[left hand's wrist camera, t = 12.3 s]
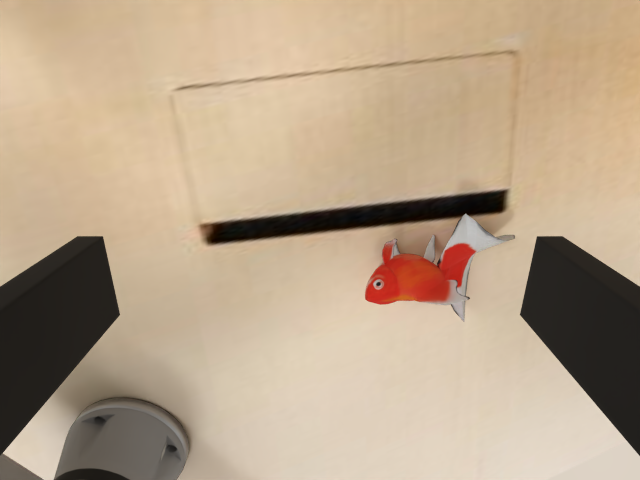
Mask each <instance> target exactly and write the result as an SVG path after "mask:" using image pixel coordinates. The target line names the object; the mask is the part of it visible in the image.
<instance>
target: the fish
mask: <svg viewBox="0 0 640 480" xmlns="http://www.w3.org/2000/svg"><path fill="white" fill-rule="evenodd" d="M512 239H515V236H514V235H503V236H499V237H495V236H493V235H492V234H490V233H489V232H487V231H486V230H484V229H483V228H482V227H481V226H480V225H479V224H478V223H477V222H476V221H475V220H474V219H472V218H471V217H469V216H468V215H467V214H465V215H464V216H463V217H462V218H461V219H460V220H459V221H458V224H457V226H456V228H455V230H454V232H453V234H452V236H451V238H450V240H449V241H448V243H447V245H446V247H445V249H444V251H443V253H442V255H441V257H440V259H439V261H438V263H437V266H436V265H435V264H433V262H434V260H435V236H434V235H433V236H432V238H431V240H430V242H429V244H428V246H427V248H426V251H425V254H424V257H421V256H418V255H414V254H400V252H399V250H398V248H397V245H396V242H397V239H393V240H392V241H390V242H386V244H385V245H384V248H383V250H382V258H383V263H382V264H381V265H380V266H379V267H378V268H377V269H376V270H375V272H374V273H373V275H372V276H371V278H370V279H369V281H368V283H367V286H366V291H365V299H366V300H367V301H369V302H373V303H377V304H389V303H393V302H395V301H413V300H415V301H418V302H424V303H432V304H440V305H449V304H451V306H452V307H453V309H454V311H455V312H456V313H457V315H458V316H459V317H460V318H461V319H462V320H463V321H464V316H465V300H468V299H470V298H469V297H466V288H467V279H468V274H469V269H470V264H471V261H472V259H473V256H474V255H475V254H476V253H477V252H480V251H482V250H484V249H487V248H489V247H492V246H495V245H498V244H500V243H503V242H506V241H508V240H512Z"/></svg>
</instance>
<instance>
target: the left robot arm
mask: <svg viewBox="0 0 640 480" xmlns="http://www.w3.org/2000/svg"><path fill="white" fill-rule="evenodd" d="M119 315H120V313H119V308H118V304H117V299H116V294H115V290H114V285H113V281H112V276H111V271H110V267H109V262H108V258H107V253H106V249H105V244H104V239H103V236H77V237H76V238H74V239H73V240H71V241H70V242H68V243H67V244H65V245H64V246H62V247H61V248H59V249H58V250H56V251H54V252H53V253H51V254H50V255H48V256H47V257H45V258H44V259H42V260H41V261H39V262H38V263H36V264H34V265H33V266H31V267H30V268H28V269H27V270H25V271H24V272H22V273H21V274H19V275H18V276H16V277H14V278H13V279H11V280H10V281H8V282H7V283H5V284H4V285H2V286H1V287H0V480H43V479H42V478H40V477H39V476H37V475H35V474H34V473H32V472H31V471H29V470H28V469H26V468H25V467H23V466H21V465H20V464H18V463H17V462H15V461H14V460H12V459H10V458H9V457H7V456H6V455H4V454H3V452H4V451H5V450H6V448H7V447H8V446H9V445H10V444H11V443H12V441H13V440H14V439H15V438H16V437H17V435H18V434H19V433H20V432H21V431H22V430H23V428H24V427H25V426H26V425H27V424H28V423H29V421H30V420H31V419H32V418H33V417H34V415H35V414H36V413H37V412H38V411H39V410H40V408H41V407H42V406H43V405H44V404H45V402H46V401H47V400H48V399H49V398H50V397H51V395H52V394H53V393H54V392H55V391H56V389H57V388H58V387H59V386H60V385H61V384H62V382H63V381H64V380H65V379H66V378H67V377H68V375H69V374H70V373H71V372H72V371H73V369H74V368H75V367H76V366H77V365H78V364H79V362H80V361H81V360H82V359H83V358H84V356H85V355H86V354H87V353H88V352H89V351H90V349H91V348H92V347H93V346H94V345H95V344H96V342H97V341H98V340H99V339H100V338H101V336H102V335H103V334H104V333H105V332H106V331H107V329H108V328H109V327H110V326H111V325H112V323H113V322H114V321H115V320H116V319H117V318H118V316H119ZM520 315H521V316H522V318H523V319H524V320H525V321H526V322H527V323H528V325H529V326H530V327H531V328H532V329H533V331H534V332H535V333H536V334H537V335H538V336H539V338H540V339H541V340H542V341H543V342H544V344H545V345H546V346H547V347H548V348H549V349H550V351H551V352H552V353H553V354H554V355H555V356H556V358H557V359H558V360H559V361H560V362H561V364H562V365H563V366H564V367H565V368H566V369H567V371H568V372H569V373H570V374H571V375H572V377H573V378H574V379H575V380H576V381H577V382H578V384H579V385H580V386H581V387H582V388H583V389H584V391H585V392H586V393H587V394H588V395H589V397H590V398H591V399H592V400H593V401H594V402H595V404H596V405H597V406H598V407H599V408H600V410H601V411H602V412H603V413H604V414H605V415H606V417H607V418H608V419H609V420H610V421H611V423H612V424H613V425H614V426H615V427H616V428H617V430H618V431H619V432H620V433H621V434H622V435H623V437H624V438H625V439H626V440H627V441H628V443H629V444H630V445H631V446H632V447H633V448H634V450H635V451H636V452H637V453H638V454H639V455H640V287H639V286H638V285H636V284H635V283H633V282H632V281H630V280H629V279H627V278H626V277H624V276H622V275H621V274H619V273H618V272H616V271H615V270H613V269H612V268H610V267H609V266H607V265H606V264H604V263H602V262H601V261H599V260H598V259H596V258H595V257H593V256H592V255H590V254H589V253H587V252H586V251H584V250H582V249H581V248H579V247H578V246H576V245H575V244H573V243H572V242H570V241H569V240H567V239H566V238H564V237H563V236H537V239H536V244H535V249H534V253H533V258H532V262H531V267H530V271H529V276H528V281H527V285H526V290H525V294H524V299H523V304H522V308H521V313H520ZM188 453H189V442H188V438H187V435H186V433H185V431H184V429H183V427H182V426H181V425H180V423H179V422H178V421H177V420H176V419H175V418H174V417H173V416H172V415H170V414H169V413H168V412H166V411H165V410H163V409H161V408H160V407H158V406H156V405H153V404H151V403H148V402H145V401H141V400H137V399H131V398H111V399H106V400H102V401H99V402H96V403H94V404H92V405H90V406H89V407H87V408H86V409H85V410H83V412H82V413H81V414H80V415H79V416H78V418H77V419H76V420H75V422H74V423H73V425H72V426H71V428H70V430H69V432H68V434H67V437H66V440H65V443H64V447H63V450H62V454H61V457H60V461H59V464H58V468H57V471H56V474H55V478H54V480H177V478H178V477H179V475H180V474H181V472H182V470H183V468H184V465H185V462H186V459H187V457H188Z"/></svg>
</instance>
